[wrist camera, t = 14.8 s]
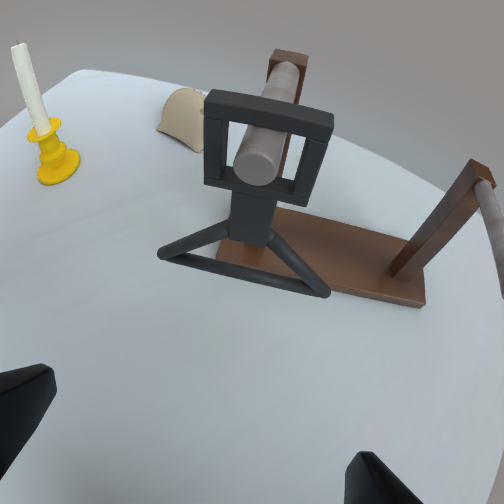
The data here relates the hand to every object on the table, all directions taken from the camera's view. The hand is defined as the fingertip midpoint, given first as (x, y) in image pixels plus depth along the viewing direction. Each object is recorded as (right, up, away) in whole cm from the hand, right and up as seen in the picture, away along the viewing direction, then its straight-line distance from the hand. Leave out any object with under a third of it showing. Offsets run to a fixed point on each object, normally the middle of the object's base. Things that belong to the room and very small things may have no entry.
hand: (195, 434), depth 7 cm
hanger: (+1, +3, +9) cm, 10 cm away
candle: (-19, +14, +20) cm, 31 cm away
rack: (+7, +2, +16) cm, 18 cm away
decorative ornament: (-5, +17, +24) cm, 30 cm away
